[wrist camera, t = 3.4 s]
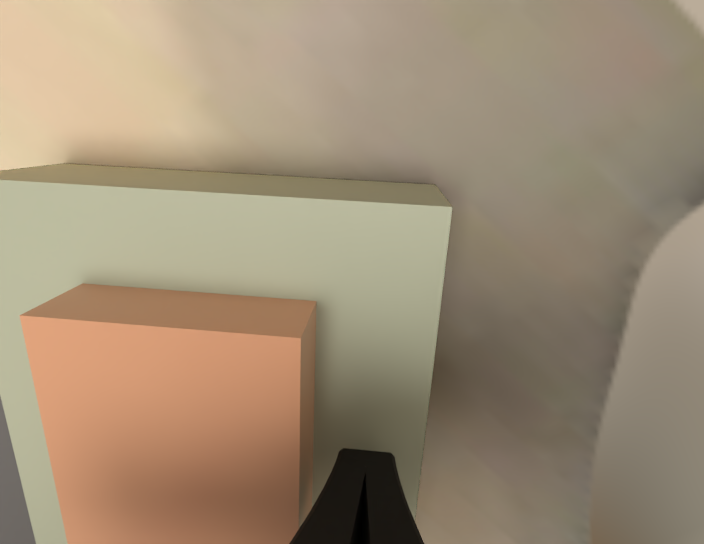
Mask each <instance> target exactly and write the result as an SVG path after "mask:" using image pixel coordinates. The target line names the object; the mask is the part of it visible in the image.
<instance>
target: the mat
mask: <svg viewBox="0 0 704 544" xmlns="http://www.w3.org/2000/svg"><path fill="white" fill-rule="evenodd" d="M0 544H36V541H35V537H34V533H33V529H32V525H31V521H30V516H29V512H28V508H27V504H26V500H25V496H24V492H23V487H22V483H21V479H20V475H19V471H18V467H17V463H16V458H15V454H14V450H13V446H12V442H11V438H10V434H9V429H8V425H7V421H6V417H5V413H4V409H3V405H2V400H1V396H0Z"/></svg>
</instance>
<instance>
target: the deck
mask: <svg viewBox="0 0 704 544" xmlns="http://www.w3.org/2000/svg"><path fill="white" fill-rule="evenodd" d="M451 215H452V206H451V204H450V203H449V202H448V201H447V199H446V198H445V197H444V195H443V194H442V193H441V191H440V190H439V189H438V188H437V186H436V185H433V184H416V183H398V182H381V181H363V180H346V179H328V178H311V177H293V176H275V175H258V174H240V173H223V172H205V171H188V170H170V169H153V168H135V167H118V166H100V165H83V164H65V163H64V164H55V165H46V166H38V167H29V168H20V169H11V170H2V171H0V396H1V400H2V405H3V409H4V413H5V417H6V421H7V425H8V429H9V434H10V438H11V442H12V446H13V450H14V454H15V458H16V463H17V467H18V471H19V475H20V479H21V483H22V487H23V492H24V496H25V500H26V504H27V508H28V512H29V516H30V521H31V525H32V529H33V533H34V537H35V541H36V544H68V543H67V539H66V534H65V529H64V524H63V520H62V515H61V510H60V505H59V501H58V496H57V491H56V486H55V482H54V477H53V472H52V467H51V463H50V458H49V453H48V448H47V444H46V439H45V434H44V429H43V425H42V420H41V415H40V411H39V406H38V401H37V396H36V392H35V387H34V382H33V377H32V373H31V368H30V363H29V358H28V354H27V349H26V344H25V339H24V335H23V330H22V325H21V320H20V316H19V315H21V314H23V313H25V312H27V311H29V310H31V309H33V308H35V307H37V306H39V305H41V304H43V303H45V302H47V301H49V300H51V299H53V298H55V297H57V296H59V295H61V294H63V293H65V292H67V291H68V290H70V289H72V288H74V287H76V286H78V285H80V284H82V283H83V284H97V285H110V286H123V287H136V288H150V289H163V290H176V291H190V292H203V293H216V294H229V295H243V296H256V297H269V298H283V299H296V300H309V301H317V305H316V350H315V394H314V439H313V483H312V507H313V505H314V504H315V502H316V500H317V498H318V497H319V495H320V493H321V491H322V489H323V488H324V486H325V484H326V482H327V480H328V478H329V475H330V473H331V471H332V469H333V467H334V464H335V462H336V459H337V456H338V453H339V451H340V450H341V449H343V448H349V449H359V450H369V451H379V452H390V453H392V454H393V455H394V457H395V462H396V467H397V471H398V475H399V479H400V482H401V485H402V488H403V491H404V495H405V498H406V500H407V503H408V506H409V508H410V511H411V513H412V516H413V519H414V521H415V517H416V508H417V500H418V491H419V483H420V475H421V466H422V458H423V450H424V441H425V433H426V424H427V416H428V408H429V399H430V391H431V383H432V374H433V366H434V357H435V349H436V341H437V332H438V324H439V316H440V307H441V299H442V290H443V282H444V274H445V265H446V257H447V249H448V240H449V232H450V223H451Z"/></svg>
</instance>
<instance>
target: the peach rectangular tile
mask: <svg viewBox="0 0 704 544" xmlns="http://www.w3.org/2000/svg"><path fill="white" fill-rule="evenodd" d="M316 305H317V301H309V300H296V299H283V298H269V297H256V296H243V295H229V294H216V293H203V292H190V291H176V290H163V289H150V288H136V287H123V286H110V285H97V284H83V283H82V284H80V285H78V286H76V287H74V288H72V289H70V290H68V291H67V292H65V293H63V294H61V295H59V296H57V297H55V298H53V299H51V300H49V301H47V302H45V303H43V304H41V305H39V306H37V307H35V308H33V309H31V310H29V311H27V312H25V313H23V314H21V315H19V316H20V320H21V325H22V330H23V335H24V339H25V344H26V349H27V354H28V358H29V363H30V368H31V373H32V377H33V382H34V387H35V392H36V396H37V401H38V406H39V411H40V415H41V420H42V425H43V429H44V434H45V439H46V444H47V448H48V453H49V458H50V463H51V467H52V472H53V477H54V482H55V486H56V491H57V496H58V501H59V505H60V510H61V515H62V520H63V524H64V529H65V534H66V539H67V543H68V544H289V543H290V542H291V540H292V539H293V537H294V536H295V534H296V533H297V531H298V529H299V528H300V526H301V525H302V523H303V522H304V520H305V519H306V517H307V516H308V514H309V512H310V511H311V509H312V483H313V439H314V394H315V350H316Z"/></svg>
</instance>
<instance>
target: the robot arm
mask: <svg viewBox="0 0 704 544" xmlns="http://www.w3.org/2000/svg"><path fill="white" fill-rule="evenodd" d="M289 544H424V542H423V540H422V538H421V536H420V533H419V531H418V529H417V526H416V524H415V521H414V519H413V516H412V513H411V511H410V508H409V506H408V503H407V500H406V498H405V495H404V491H403V488H402V485H401V482H400V479H399V475H398V471H397V467H396V462H395V457H394V455H393V454H392V453H390V452H379V451H369V450H359V449H349V448H343V449H341V450H340V451H339V453H338V456H337V459H336V462H335V464H334V467H333V469H332V471H331V473H330V475H329V478H328V480H327V482H326V484H325V486H324V488H323V489H322V491H321V493H320V495H319V497H318V498H317V500H316V502H315V504H314V505H313V507H312V509H311V511H310V512H309V514H308V516H307V517H306V519H305V520H304V522H303V523H302V525H301V526H300V528H299V529H298V531H297V533H296V534H295V536H294V537H293V539H292V540H291V542H290V543H289Z"/></svg>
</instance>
